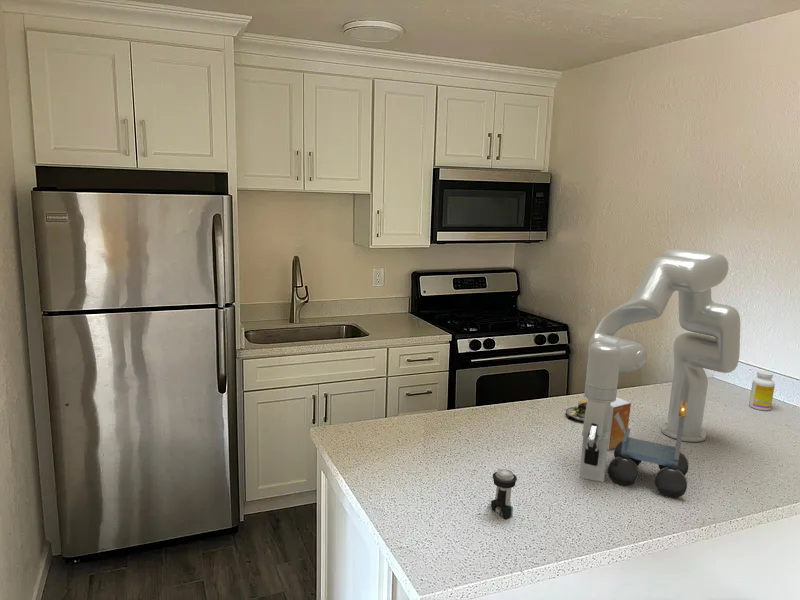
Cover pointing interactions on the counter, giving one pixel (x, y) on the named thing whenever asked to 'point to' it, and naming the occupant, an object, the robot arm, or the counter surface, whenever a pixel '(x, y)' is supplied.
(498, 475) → the push button
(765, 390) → the supplement bottle
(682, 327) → the robot arm
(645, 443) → the trolley
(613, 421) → the small box
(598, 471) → the skincare box
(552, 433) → the counter surface
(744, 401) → the counter surface
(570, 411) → the burger
